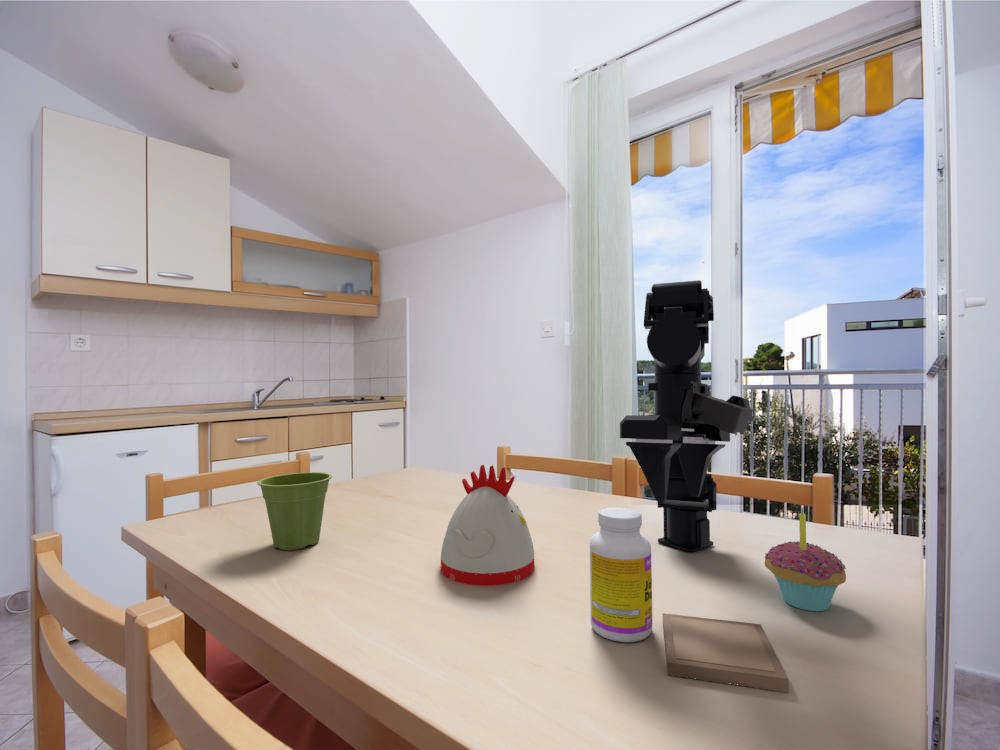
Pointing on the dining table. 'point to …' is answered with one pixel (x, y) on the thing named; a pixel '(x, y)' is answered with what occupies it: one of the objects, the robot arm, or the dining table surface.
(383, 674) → the dining table surface
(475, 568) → the kitchen timer
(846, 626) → the dining table surface
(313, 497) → the plant pot
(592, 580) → the supplement bottle
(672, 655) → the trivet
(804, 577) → the cupcake
